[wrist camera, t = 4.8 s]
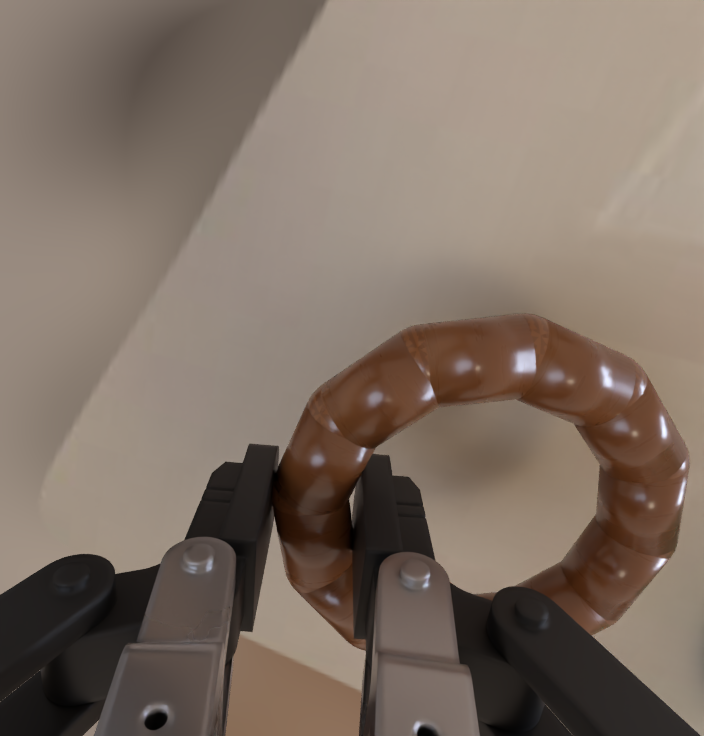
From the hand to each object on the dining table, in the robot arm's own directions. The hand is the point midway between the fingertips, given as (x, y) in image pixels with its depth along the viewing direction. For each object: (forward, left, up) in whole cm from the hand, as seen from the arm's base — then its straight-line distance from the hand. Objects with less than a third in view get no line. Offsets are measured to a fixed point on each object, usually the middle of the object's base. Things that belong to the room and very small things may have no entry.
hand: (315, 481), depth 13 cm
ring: (+4, +1, +1) cm, 4 cm away
